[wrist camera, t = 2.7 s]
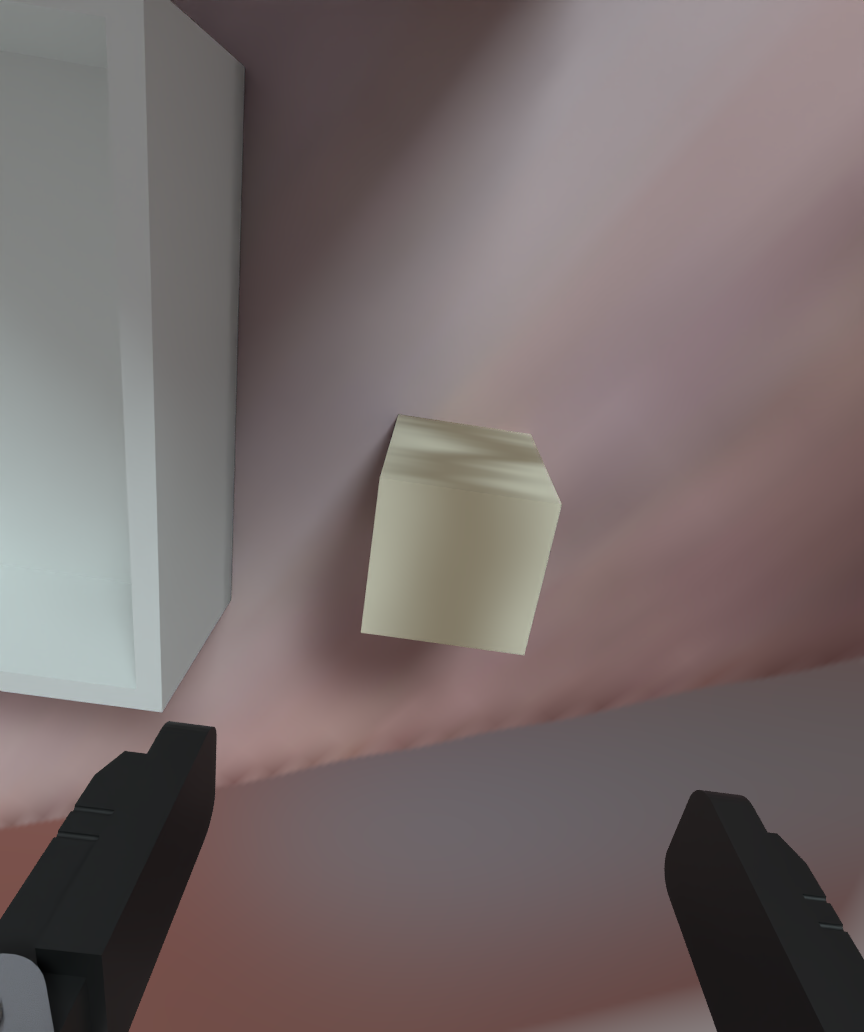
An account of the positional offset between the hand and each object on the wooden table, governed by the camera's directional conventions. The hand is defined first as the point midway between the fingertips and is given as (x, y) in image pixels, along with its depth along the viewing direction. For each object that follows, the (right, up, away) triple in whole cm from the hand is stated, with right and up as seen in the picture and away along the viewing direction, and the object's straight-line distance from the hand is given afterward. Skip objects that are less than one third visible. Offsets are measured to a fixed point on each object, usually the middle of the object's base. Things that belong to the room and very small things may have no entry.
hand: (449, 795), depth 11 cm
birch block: (+1, +6, +14) cm, 15 cm away
